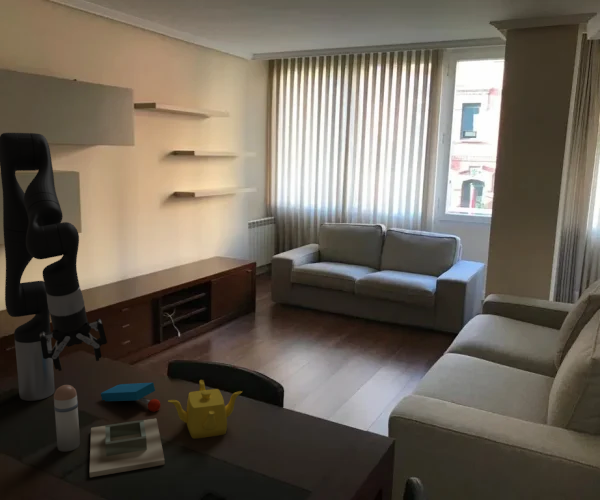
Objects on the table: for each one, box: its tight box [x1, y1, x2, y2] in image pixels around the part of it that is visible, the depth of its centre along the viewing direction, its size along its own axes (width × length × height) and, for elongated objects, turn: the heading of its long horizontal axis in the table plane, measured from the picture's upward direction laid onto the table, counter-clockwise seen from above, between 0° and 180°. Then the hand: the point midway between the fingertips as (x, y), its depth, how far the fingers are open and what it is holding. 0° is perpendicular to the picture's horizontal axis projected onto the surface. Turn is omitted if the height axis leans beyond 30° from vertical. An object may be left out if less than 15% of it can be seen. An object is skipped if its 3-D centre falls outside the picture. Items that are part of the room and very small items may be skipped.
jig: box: [89, 417, 166, 478], centre depth 131 cm, size 20×16×4 cm
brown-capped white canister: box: [53, 384, 81, 453], centre depth 130 cm, size 5×5×16 cm
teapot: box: [167, 379, 243, 440], centre depth 141 cm, size 15×14×10 cm
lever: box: [100, 382, 161, 413], centre depth 153 cm, size 7×7×18 cm
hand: (78, 364), depth 132 cm, fingers open, 8 cm apart
